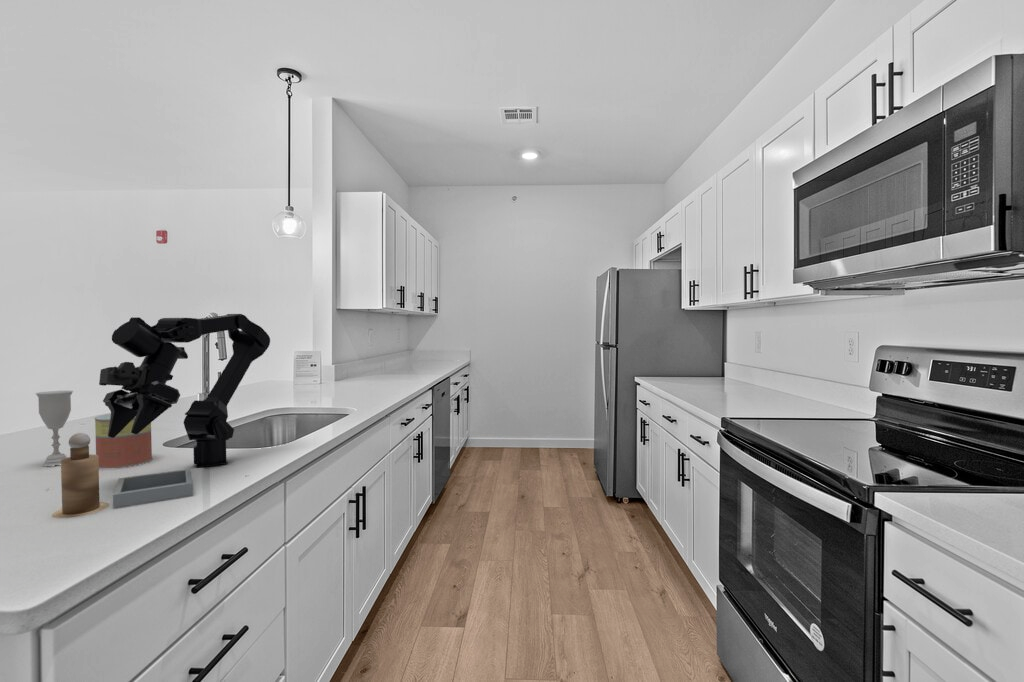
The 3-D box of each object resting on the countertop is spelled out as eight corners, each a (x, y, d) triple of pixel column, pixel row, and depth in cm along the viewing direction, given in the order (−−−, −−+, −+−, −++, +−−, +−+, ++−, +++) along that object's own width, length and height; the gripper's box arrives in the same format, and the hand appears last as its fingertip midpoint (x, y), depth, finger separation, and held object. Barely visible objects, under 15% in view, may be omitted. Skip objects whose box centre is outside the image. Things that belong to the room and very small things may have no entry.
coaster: (111, 502, 97) (111, 499, 97) (107, 514, 91) (106, 511, 91) (56, 510, 93) (56, 507, 93) (47, 524, 86) (47, 521, 86)
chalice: (81, 461, 127) (79, 391, 126) (49, 469, 120) (47, 394, 120) (63, 459, 129) (61, 390, 129) (30, 466, 123) (28, 393, 122)
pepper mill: (101, 502, 95) (99, 429, 95) (97, 510, 91) (95, 433, 91) (64, 508, 92) (62, 432, 92) (59, 516, 88) (57, 437, 88)
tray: (190, 482, 109) (190, 468, 109) (192, 498, 99) (192, 483, 99) (119, 493, 102) (118, 478, 102) (113, 511, 92) (112, 494, 92)
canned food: (163, 458, 131) (162, 412, 130) (121, 470, 119) (120, 420, 119) (127, 455, 133) (126, 411, 132) (83, 467, 122) (82, 418, 121)
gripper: (95, 357, 108) (55, 425, 100) (141, 343, 99) (102, 416, 92) (147, 379, 116) (114, 443, 108) (194, 367, 108) (162, 437, 100)
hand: (122, 435), depth 102 cm, fingers open, 9 cm apart
